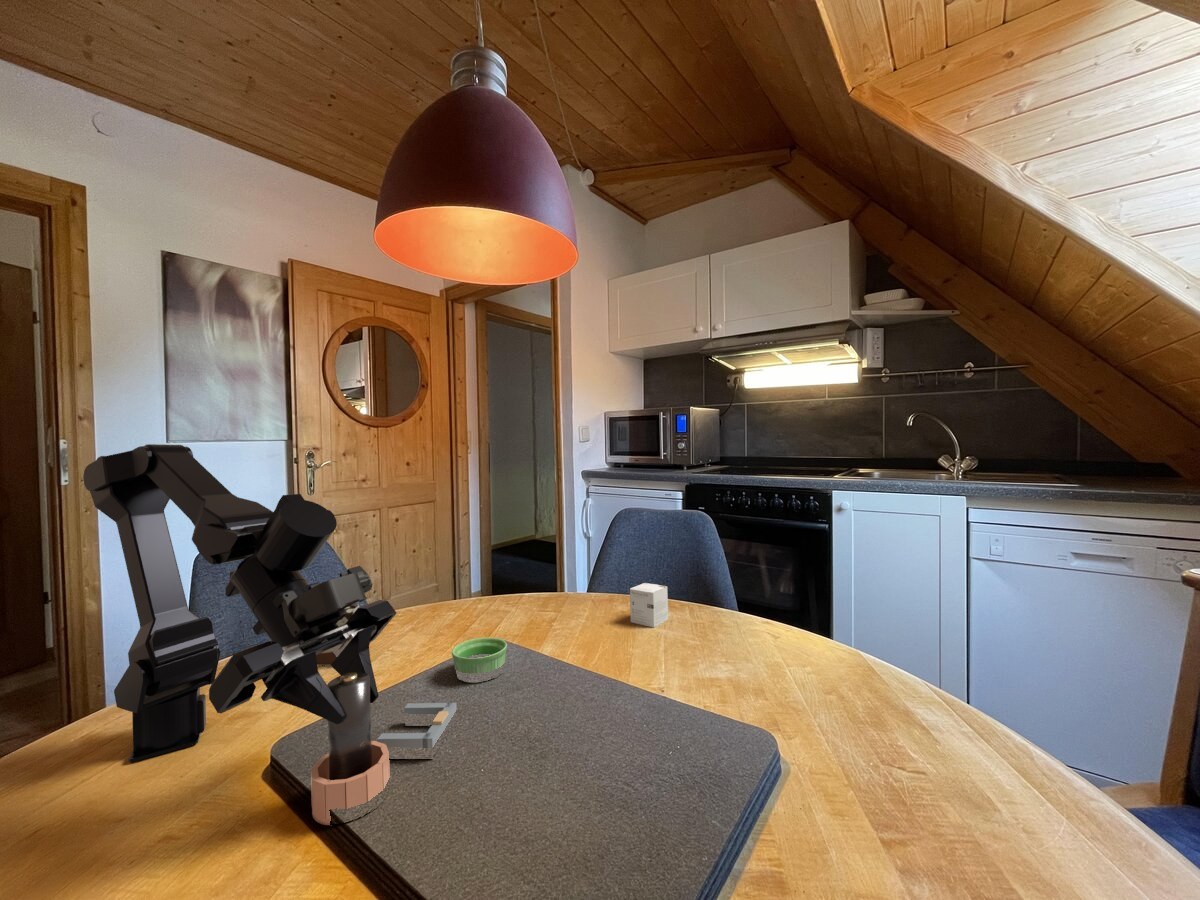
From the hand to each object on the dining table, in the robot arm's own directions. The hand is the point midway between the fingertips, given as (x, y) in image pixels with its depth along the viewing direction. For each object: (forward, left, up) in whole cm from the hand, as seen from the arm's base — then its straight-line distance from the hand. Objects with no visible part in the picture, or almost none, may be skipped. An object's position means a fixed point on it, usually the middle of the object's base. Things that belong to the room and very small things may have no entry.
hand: (359, 710), depth 50 cm
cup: (-1, +1, -9) cm, 10 cm away
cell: (-1, +1, -7) cm, 7 cm away
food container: (+2, +45, -10) cm, 46 cm away
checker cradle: (+7, +9, -9) cm, 15 cm away
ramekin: (+21, +22, -10) cm, 32 cm away
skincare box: (+59, +23, -10) cm, 64 cm away
